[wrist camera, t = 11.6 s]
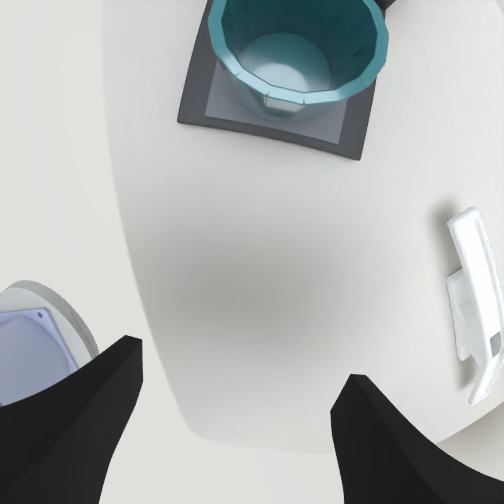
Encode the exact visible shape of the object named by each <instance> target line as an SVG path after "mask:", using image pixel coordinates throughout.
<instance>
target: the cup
mask: <svg viewBox="0 0 504 504" xmlns="http://www.w3.org/2000/svg"><path fill="white" fill-rule="evenodd" d="M208 27H209V32H210V36H211V41H212V46H213V50H214V52H215V55H216V57H217V59H218V61H219V63H220V65H221V67H222V69H223V72H224V74H225V76H226V78H227V80H228V82H229V85H230V87H231V89H232V91H233V93H234V94H235V95H236V97H237V98H238V100H239V101H240V102H241V104H242V105H243V106H244V107H245V108H246V109H247V110H249V111H250V112H251V113H253V114H254V115H256V116H258V117H260V118H262V119H265V120H268V121H271V122H277V123H294V122H299V121H304V120H307V119H309V118H311V117H313V116H314V115H316V114H318V113H320V112H322V111H324V110H326V109H328V108H329V107H331V106H333V105H335V104H337V103H339V102H341V101H343V100H345V99H347V98H348V97H350V96H352V95H354V94H356V93H358V92H360V91H362V90H364V89H366V88H367V87H368V86H370V84H371V83H372V81H373V80H374V79H375V77H376V76H377V74H378V73H379V72H380V70H381V69H382V68H383V66H384V65H385V62H386V55H387V48H388V40H389V34H388V31H387V28H386V25H385V21H384V18H383V16H382V13H381V10H380V8H379V6H378V5H377V4H376V3H375V1H374V0H214V2H213V5H212V8H211V12H210V15H209V18H208Z"/></svg>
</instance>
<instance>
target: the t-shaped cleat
mask: <svg viewBox="0 0 504 504" xmlns="http://www.w3.org/2000/svg"><path fill="white" fill-rule="evenodd" d="M447 225H448V228H449V230H450V233H451V236H452V238H453V241H454V244H455V247H456V250H457V253H458V256H459V259H460V262H461V265H462V268H461V269H460V270H458V271H457V272H455V273H454V274H452V275H450V276H449V277H448V278H447V279H446V281H447V286H448V292H449V297H450V303H451V309H452V315H453V322H454V329H455V338H456V347H457V356H458V358H459V359H460V360H461V361H464V360H466V359H467V358H468V357H470V356H471V355H472V356H473V358H474V359H475V361H476V362H477V364H478V366H479V371H478V374H477V377H476V380H475V383H474V386H473V389H472V392H471V395H470V397H469V400H468V402H469V404H470V406H473V405H475V404H476V403H478V402H479V401H481V400H482V399H483V398H485V397H486V396H488V394H489V392H490V390H491V388H492V386H493V384H494V382H495V380H496V378H497V376H498V373H499V371H500V369H501V367H502V364H503V362H504V301H503V296H502V291H501V286H500V282H499V277H498V273H497V269H496V265H495V261H494V258H493V254H492V250H491V247H490V244H489V240H488V237H487V234H486V231H485V228H484V225H483V222H482V219H481V216H480V213H479V211H478V208H477V207H469V208H468V209H466V210H465V211H463V212H461V213H460V214H458V215H457V216H455V217H453V218H452V219H450V220H449V221H448V222H447Z"/></svg>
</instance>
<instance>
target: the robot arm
mask: <svg viewBox="0 0 504 504" xmlns="http://www.w3.org/2000/svg"><path fill="white" fill-rule="evenodd" d="M142 383H143V362H142V339H139V338H135V337H131V336H127V335H125V336H123V337H122V338H121V339H119V340H118V341H117V342H115V343H114V344H113V345H111V346H110V347H109V348H107V349H106V350H105V351H103V352H102V353H101V354H99V355H98V356H97V357H95V358H94V359H92V360H91V361H90V362H88V363H87V364H85V365H84V366H83V367H81V368H80V369H79V367H78V365H77V364H76V362H75V360H74V358H73V356H72V355H71V353H70V351H69V349H68V347H67V345H66V343H65V342H64V340H63V338H62V336H61V334H60V332H59V330H58V328H57V326H56V324H55V322H54V319H53V317H52V315H51V313H50V311H49V310H48V309H47V308H46V307H40V308H31V309H23V310H14V311H6V312H0V504H99V500H100V496H101V492H102V488H103V484H104V481H105V477H106V474H107V470H108V467H109V463H110V461H111V458H112V455H113V453H114V451H115V448H116V446H117V444H118V442H119V440H120V438H121V435H122V433H123V431H124V429H125V427H126V424H127V422H128V420H129V418H130V416H131V414H132V412H133V409H134V407H135V405H136V402H137V399H138V396H139V392H140V390H141V386H142ZM330 414H331V429H332V437H333V442H334V447H335V452H336V456H337V461H338V466H339V470H340V475H341V480H342V485H343V492H344V504H504V481H500V480H498V479H495V478H492V477H489V476H487V475H484V474H482V473H480V472H478V471H476V470H474V469H472V468H470V467H468V466H466V465H464V464H462V463H461V462H459V461H458V460H456V459H454V458H453V457H451V456H450V455H448V454H447V453H445V452H444V451H443V450H441V449H440V448H438V447H437V446H436V445H435V444H434V443H432V442H431V441H430V440H429V439H427V438H426V437H425V436H424V435H423V434H422V433H421V432H420V431H418V430H417V429H416V428H415V427H414V426H413V425H412V424H411V423H410V422H409V421H408V420H407V419H406V418H405V417H404V416H403V415H402V414H401V413H400V412H399V411H398V409H397V408H396V407H395V406H394V405H393V404H392V403H391V402H390V401H389V400H388V399H387V397H386V396H385V395H384V394H383V393H382V392H381V391H380V390H379V389H378V388H377V386H376V385H375V384H374V383H373V382H372V381H371V380H370V379H369V378H368V377H367V376H366V375H358V374H350V376H349V378H348V380H347V382H346V384H345V385H344V387H343V389H342V391H341V393H340V395H339V396H338V398H337V400H336V402H335V404H334V405H333V407H332V409H331V411H330Z"/></svg>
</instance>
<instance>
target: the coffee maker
mask: <svg viewBox="0 0 504 504" xmlns="http://www.w3.org/2000/svg"><path fill="white" fill-rule="evenodd" d="M374 1H375V3H376V4H377V5H378V6H379V8H380V10H381V13H382V16H383V18H384V21H385V12H386V9H387V8H388V7H389V6H390V5H391V4H392V3H393V2H395V1H396V0H374ZM213 2H214V0H208V1H207V4H206V7H205V10H204V14H203V17H202V20H201V24H200V27H199V31H198V34H197V38H196V41H195V45H194V49H193V53H192V56H191V60H190V64H189V68H188V72H187V77H186V81H185V85H184V90H183V94H182V99H181V103H180V108H179V113H178V118H177V122H178V123H181V124H189V125H196V126H203V127H209V128H216V129H222V130H228V131H234V132H239V133H245V134H250V135H255V136H260V137H265V138H270V139H274V140H279V141H283V142H288V143H292V144H296V145H300V146H305V147H309V148H313V149H316V150H320V151H324V152H328V153H331V154H335V155H339V156H342V157H346V158H349V159H353V160H358V161H359V160H360V158H361V154H362V150H363V145H364V141H365V136H366V131H367V127H368V122H369V117H370V112H371V106H372V101H373V96H374V90H375V84H376V78H377V76H376V77H375V79H374V80H373V81H372V83H371V84H370V86H368V87H367V88H366V89H364V90H362V91H360V92H358V93H356V94H354V95H352V96H350V97H348V98H347V99H345V100H343V101H341V102H339V103H337V104H335V105H333V106H331V107H329V108H328V109H326V110H324V111H322V112H320V113H318V114H316V115H314V116H313V117H311V118H309V119H307V120H304V121H299V122H294V123H277V122H271V121H268V120H265V119H262V118H260V117H258V116H256V115H254V114H253V113H251V112H250V111H249V110H247V109H246V108H245V107H244V106H243V105H242V104H241V102H240V101H239V100H238V98H237V97H236V95H235V94H234V93H233V91H232V89H231V87H230V85H229V82H228V80H227V78H226V76H225V74H224V72H223V69H222V67H221V65H220V63H219V61H218V59H217V57H216V55H215V52H214V50H213V46H212V41H211V36H210V32H209V27H208V18H209V15H210V12H211V8H212V5H213Z"/></svg>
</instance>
